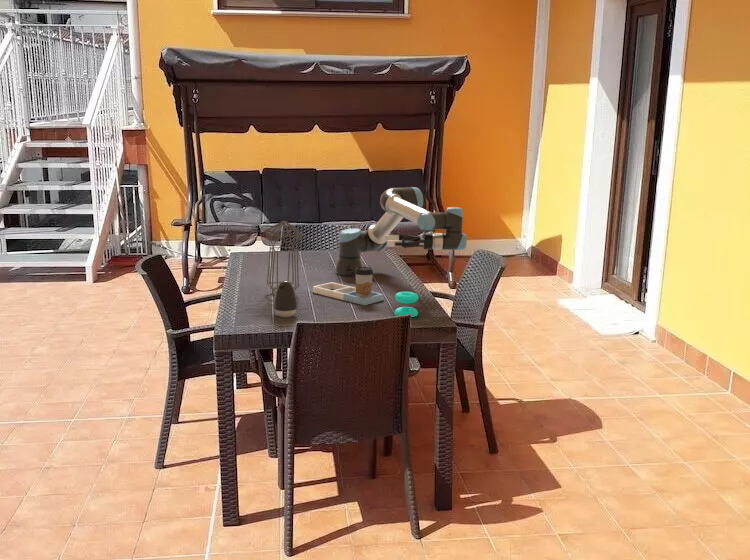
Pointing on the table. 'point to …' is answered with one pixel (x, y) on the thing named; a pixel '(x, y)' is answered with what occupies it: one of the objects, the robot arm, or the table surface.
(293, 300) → the pump dispenser
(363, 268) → the coffee cup
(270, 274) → the geometric lantern
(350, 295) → the gap frame
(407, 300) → the donuts
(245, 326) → the table surface
